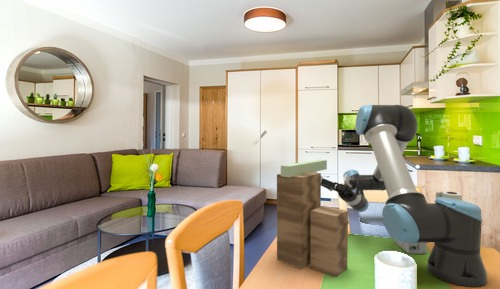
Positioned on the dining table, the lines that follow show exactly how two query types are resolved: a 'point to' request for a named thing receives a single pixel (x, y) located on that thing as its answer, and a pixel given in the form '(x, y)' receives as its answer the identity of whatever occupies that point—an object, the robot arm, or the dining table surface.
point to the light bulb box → (413, 247)
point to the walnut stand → (310, 226)
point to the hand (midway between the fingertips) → (329, 175)
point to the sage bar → (303, 168)
